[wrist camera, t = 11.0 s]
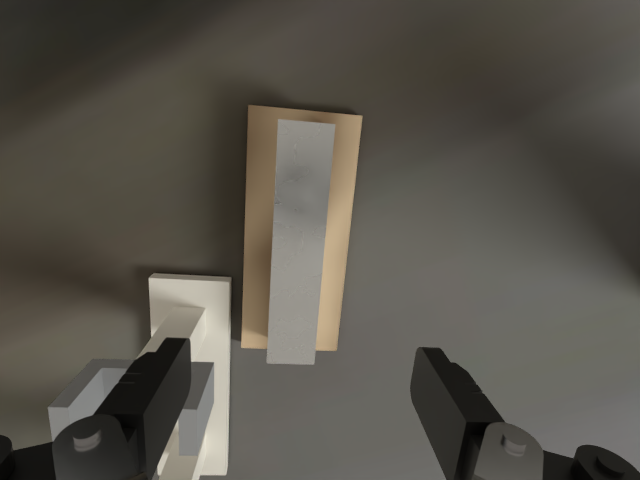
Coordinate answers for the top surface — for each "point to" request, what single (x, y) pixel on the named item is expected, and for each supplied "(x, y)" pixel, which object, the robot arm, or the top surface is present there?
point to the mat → (262, 213)
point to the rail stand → (206, 374)
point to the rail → (298, 238)
